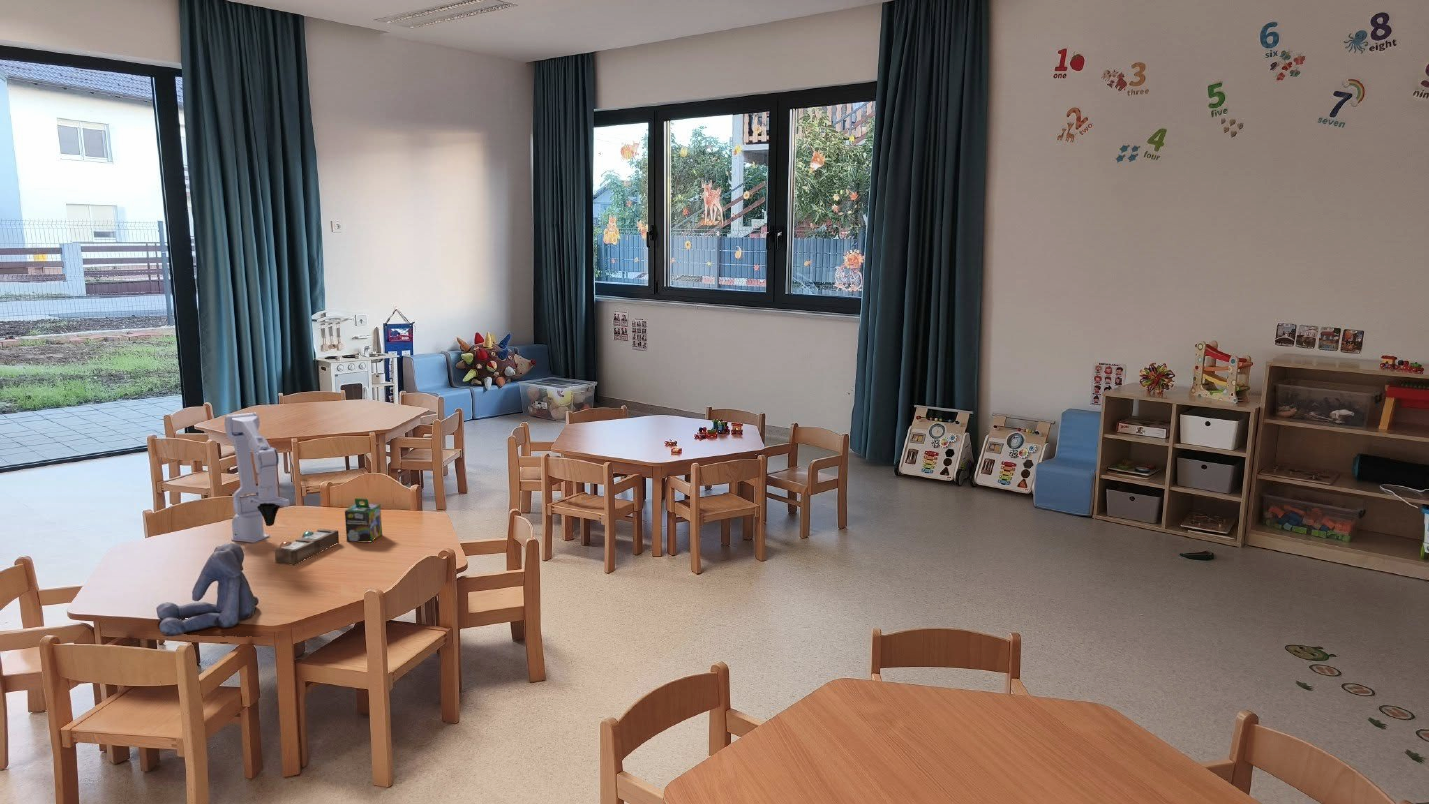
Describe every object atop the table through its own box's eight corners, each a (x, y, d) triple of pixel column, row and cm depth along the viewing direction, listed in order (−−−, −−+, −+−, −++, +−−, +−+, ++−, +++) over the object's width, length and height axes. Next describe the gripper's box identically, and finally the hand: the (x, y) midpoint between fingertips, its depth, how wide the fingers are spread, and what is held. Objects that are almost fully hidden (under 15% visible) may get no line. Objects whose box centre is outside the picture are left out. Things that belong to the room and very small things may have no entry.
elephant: (158, 612, 257) (153, 541, 254) (258, 599, 269) (254, 531, 265) (153, 641, 239) (146, 565, 236) (260, 625, 250) (255, 552, 247)
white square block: (277, 558, 301) (276, 544, 300) (291, 552, 307) (290, 538, 306) (295, 560, 299) (294, 546, 298) (309, 554, 306) (308, 540, 305)
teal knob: (299, 547, 311) (299, 534, 311) (312, 541, 318) (312, 528, 317) (317, 549, 310) (317, 536, 309) (330, 543, 316) (330, 530, 316)
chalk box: (382, 535, 329) (381, 494, 326) (370, 543, 320) (369, 502, 317) (358, 533, 330) (356, 493, 327) (345, 541, 321) (343, 500, 318)
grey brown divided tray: (275, 562, 298) (274, 549, 297) (320, 541, 320) (320, 528, 319) (294, 565, 297) (293, 551, 296) (338, 543, 318) (338, 530, 318)
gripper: (240, 486, 301) (242, 526, 303) (278, 490, 297) (280, 530, 300) (255, 481, 307) (258, 520, 310) (293, 485, 304) (295, 524, 306)
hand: (270, 525), depth 305 cm, fingers closed
